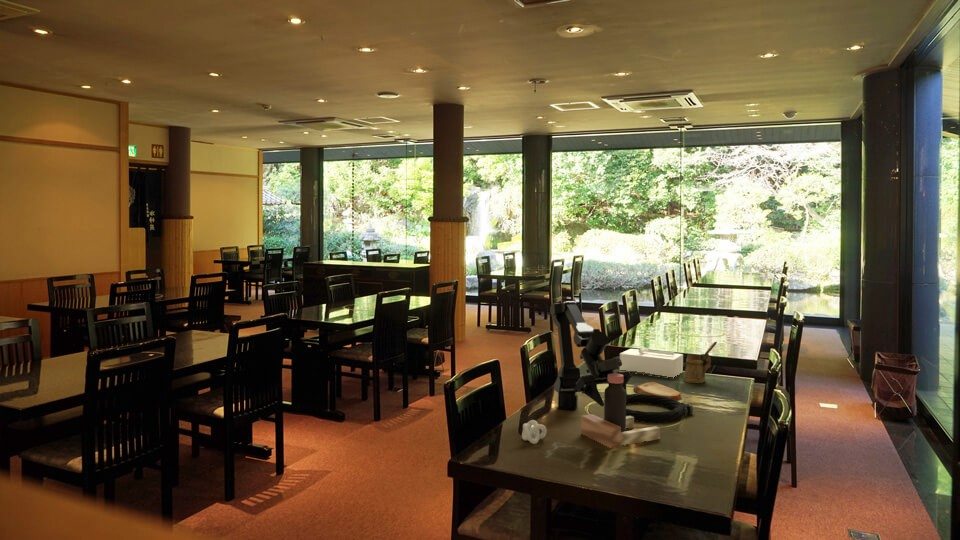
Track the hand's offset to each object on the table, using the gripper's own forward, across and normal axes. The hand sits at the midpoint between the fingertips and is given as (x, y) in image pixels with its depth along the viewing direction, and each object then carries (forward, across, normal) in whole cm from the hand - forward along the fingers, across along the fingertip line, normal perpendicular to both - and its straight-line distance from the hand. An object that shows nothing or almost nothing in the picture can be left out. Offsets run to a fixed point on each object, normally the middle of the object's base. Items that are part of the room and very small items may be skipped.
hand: (614, 403), depth 199 cm
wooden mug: (-23, +80, +39) cm, 92 cm away
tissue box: (-40, +73, +56) cm, 101 cm away
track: (+8, +3, +8) cm, 11 cm away
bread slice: (-17, +49, +34) cm, 62 cm away
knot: (+2, -25, +14) cm, 29 cm away
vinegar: (+8, 0, +8) cm, 11 cm away
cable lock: (-4, +29, +21) cm, 36 cm away
